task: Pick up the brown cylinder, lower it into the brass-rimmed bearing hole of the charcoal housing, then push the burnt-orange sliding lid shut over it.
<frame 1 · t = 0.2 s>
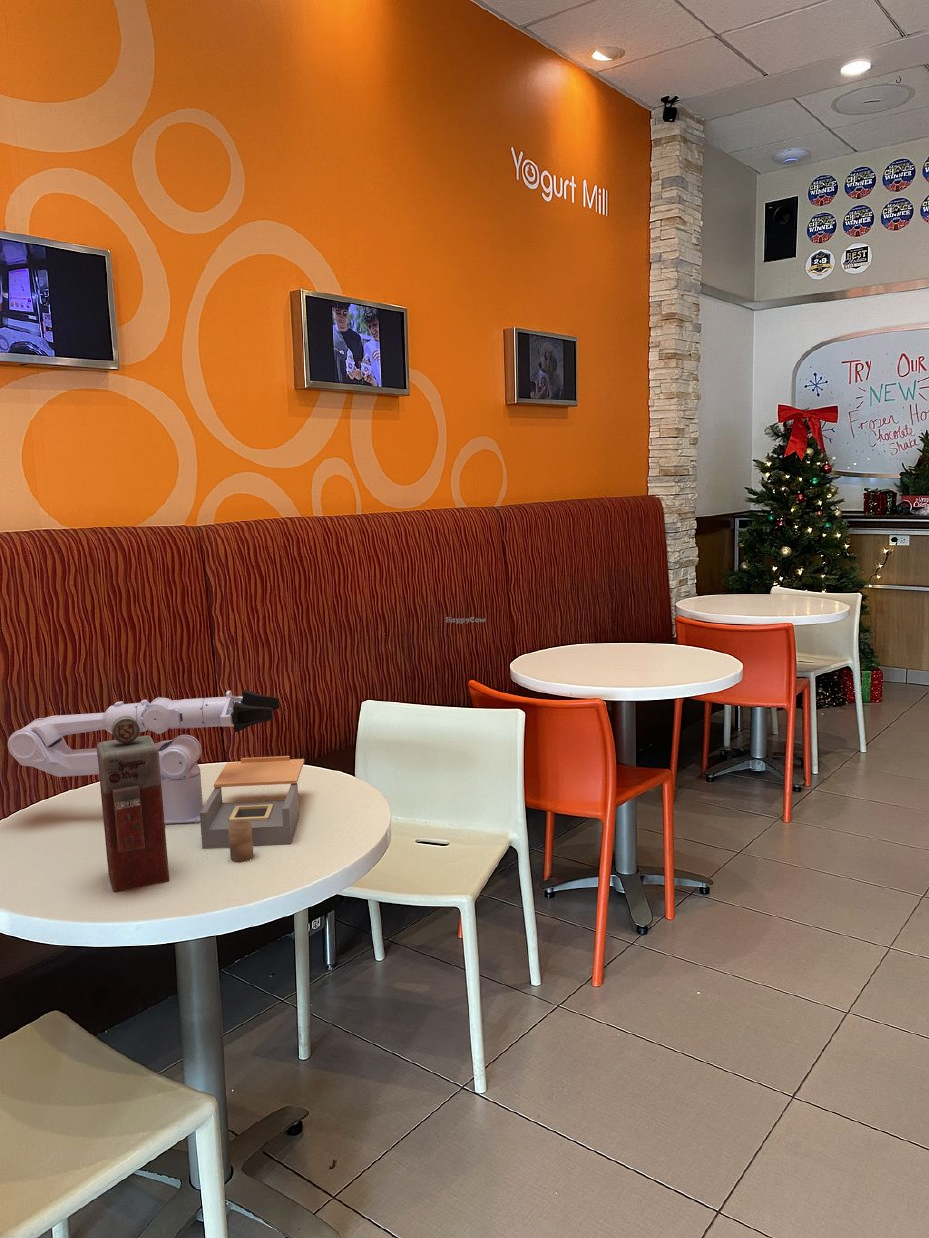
hand: (275, 708, 184), 22 cm above the table, tool horizontal, fingers open, 7 cm apart
vintage gas pump: (139, 880, 158), on the table
housing: (252, 831, 178), on the table
lid: (260, 770, 190), point 8 cm above the table, slide at 13.0 cm
brown cylinder: (242, 857, 166), on the table
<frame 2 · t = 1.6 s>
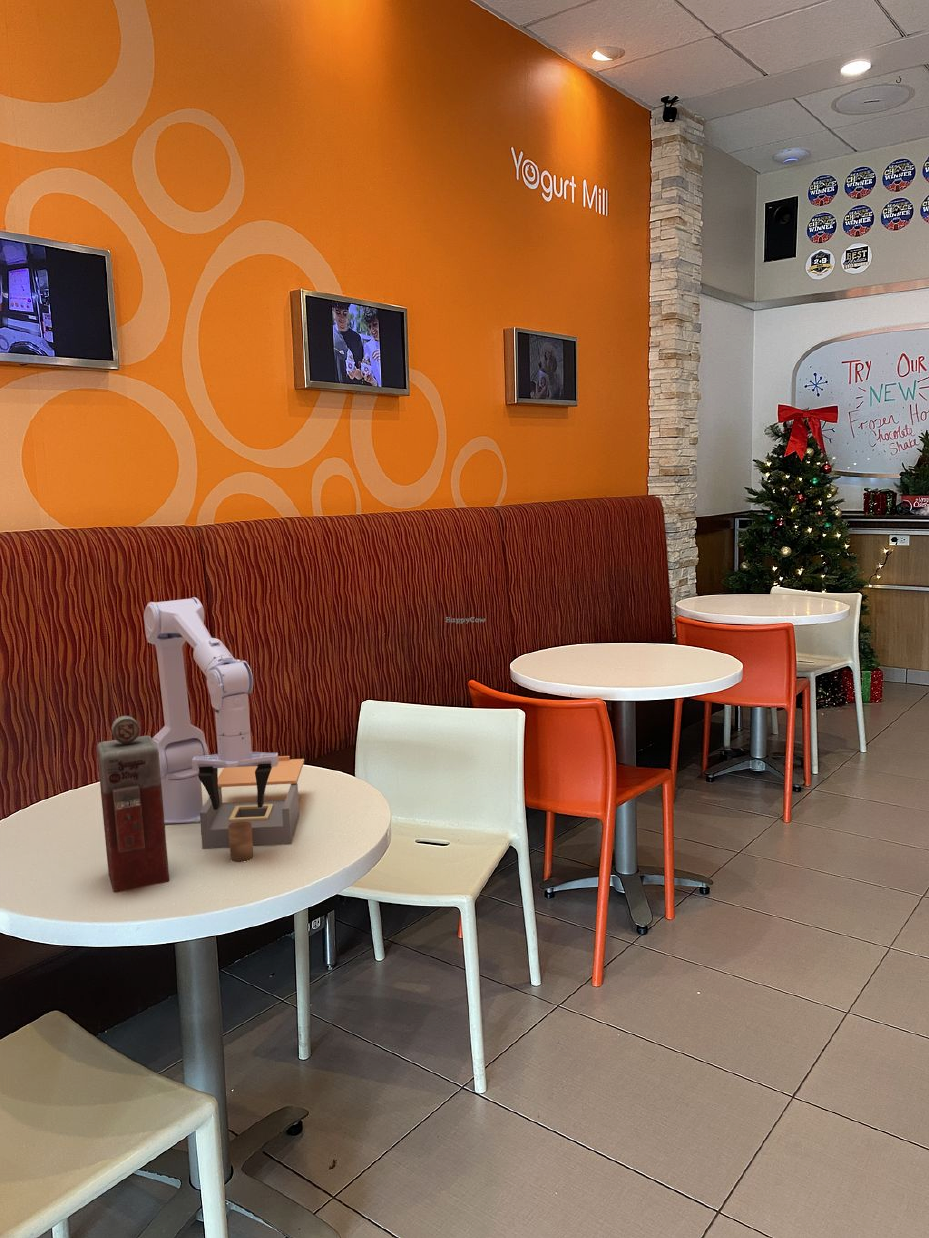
hand: (238, 806, 165), 9 cm above the table, tool pointing down, fingers open, 7 cm apart
nothing on the table moved.
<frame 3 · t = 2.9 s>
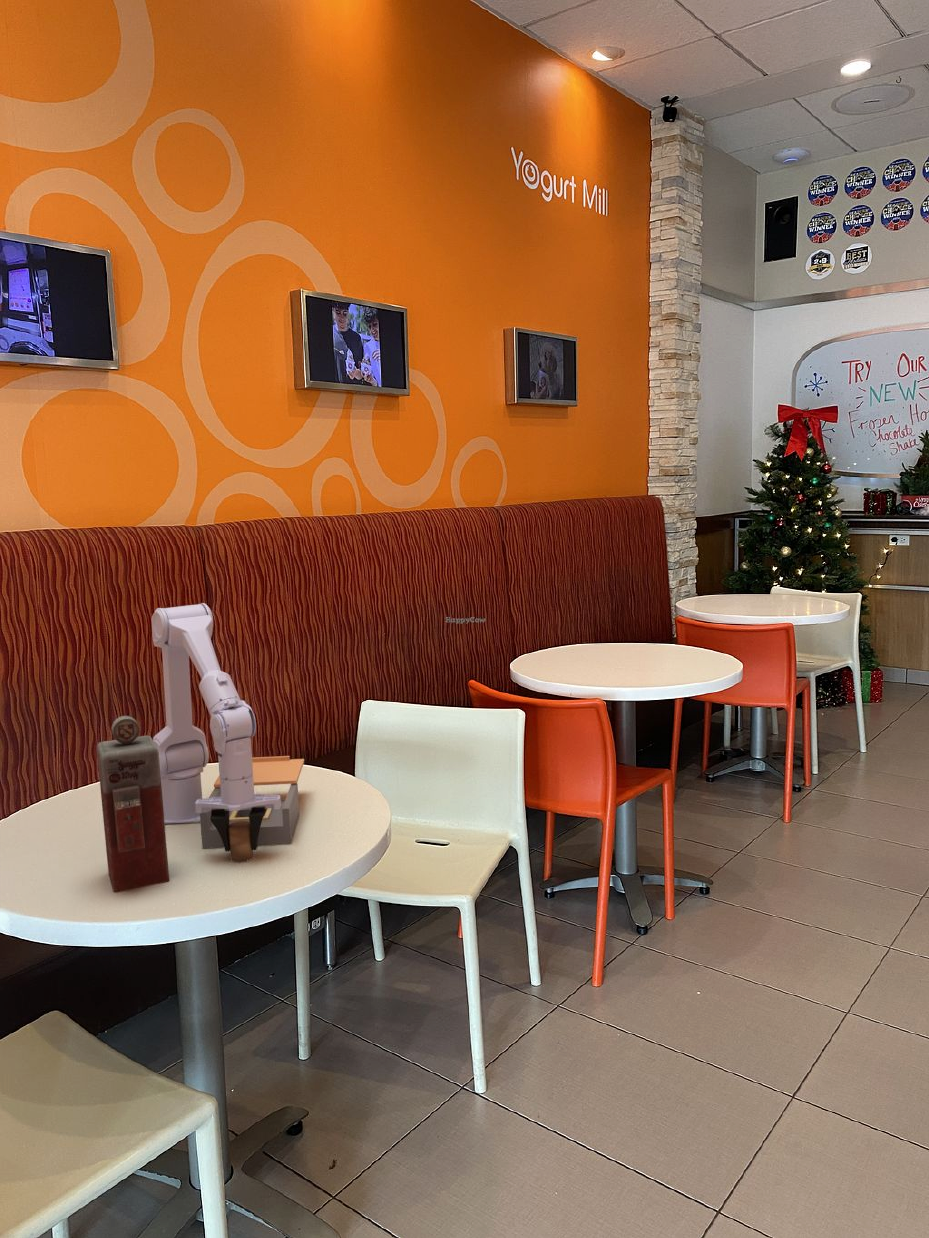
hand: (241, 848, 166), 2 cm above the table, tool pointing down, fingers closed on brown cylinder, 4 cm apart
brown cylinder: (242, 857, 166), on the table, touching gripper
everything else where it was.
when the fingers open (5 cm above the table, at t = 6.6 s): brown cylinder drops 3 cm, resting in housing.
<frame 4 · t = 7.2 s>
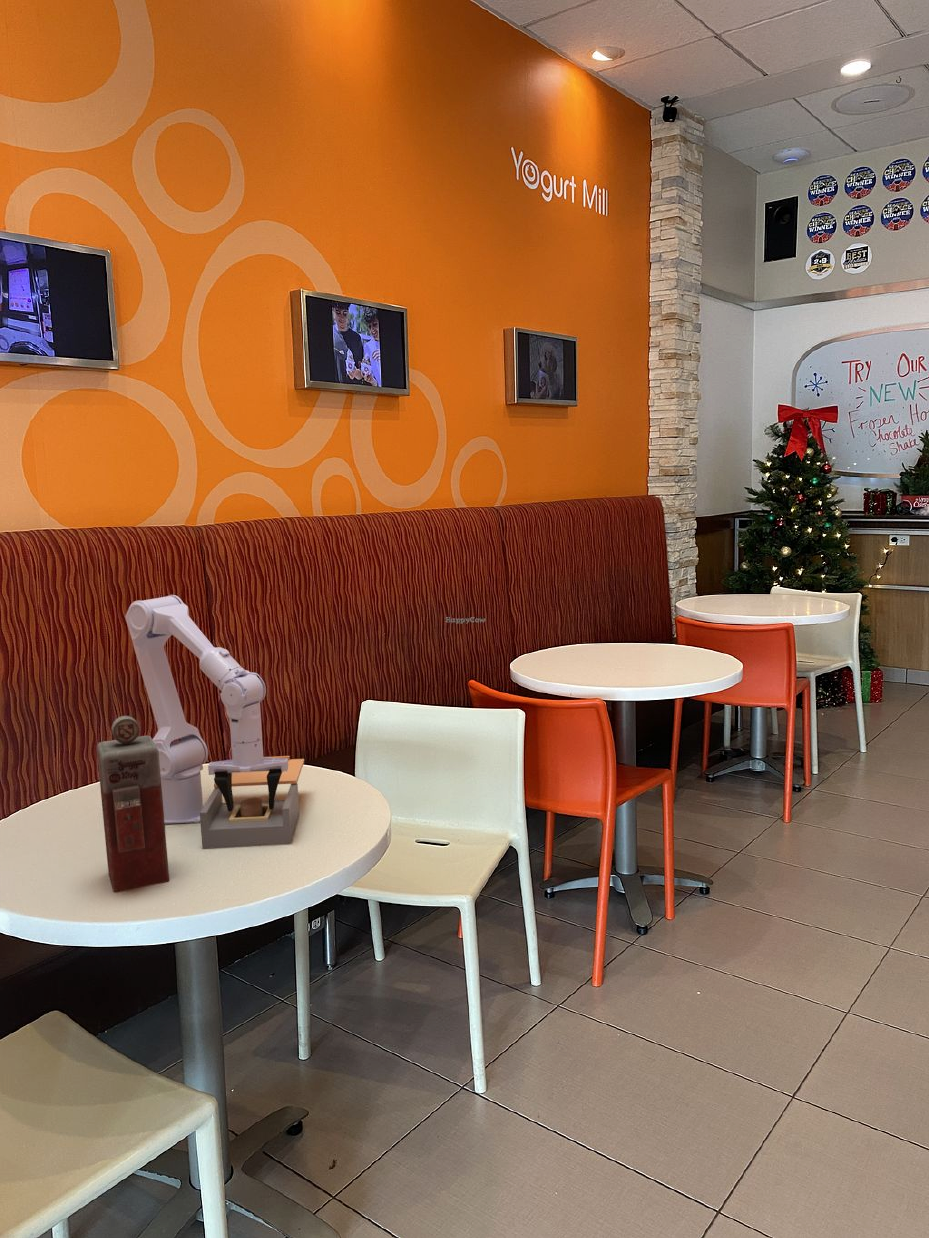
hand: (251, 808, 177), 5 cm above the table, tool pointing down, fingers open, 7 cm apart
brown cylinder: (253, 831, 178), resting in housing
everything else where it was.
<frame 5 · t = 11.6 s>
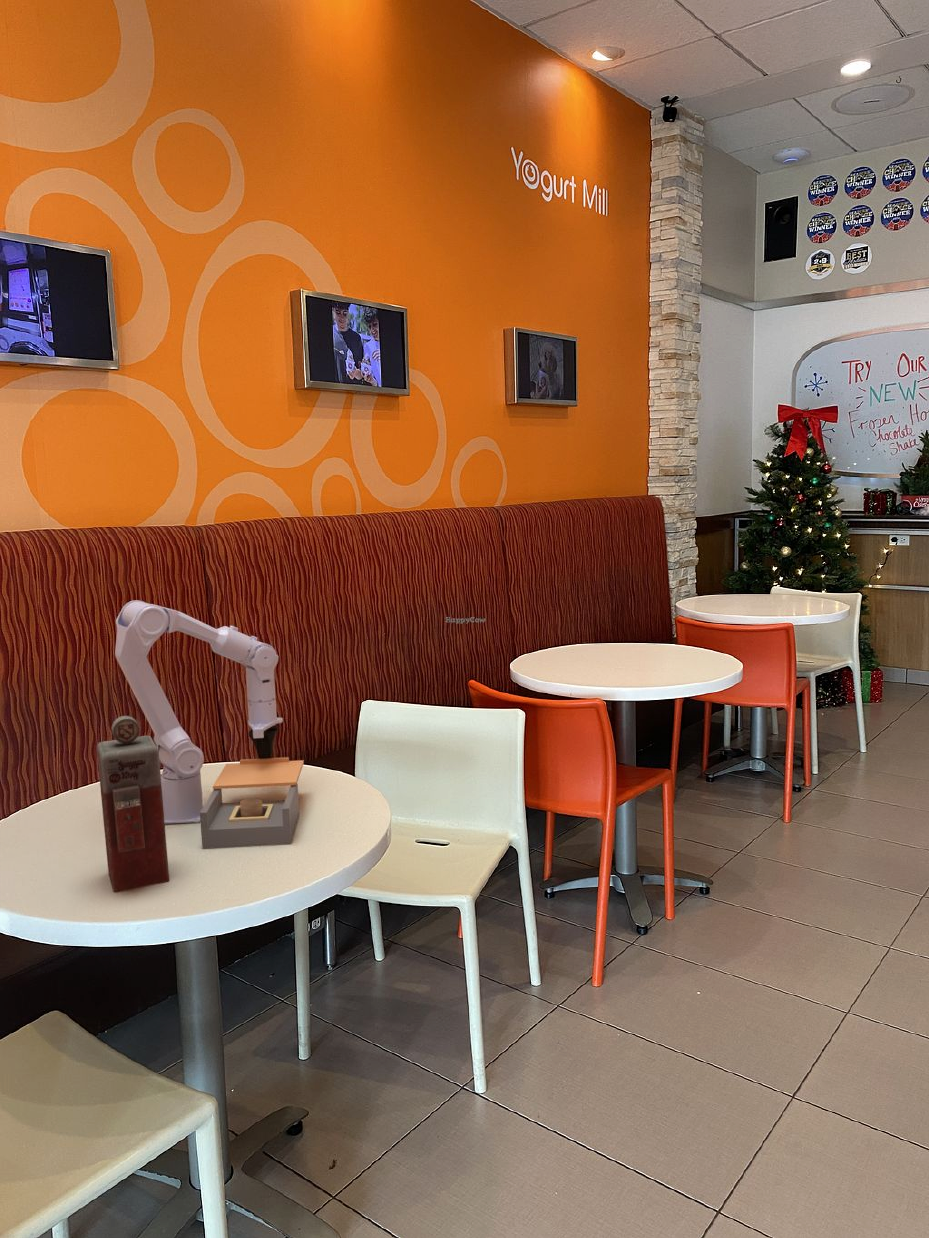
hand: (265, 762, 197), 7 cm above the table, tool pointing down, fingers closed
lid: (259, 772, 189), point 8 cm above the table, slide at 12.0 cm, touching gripper
everything else where it was.
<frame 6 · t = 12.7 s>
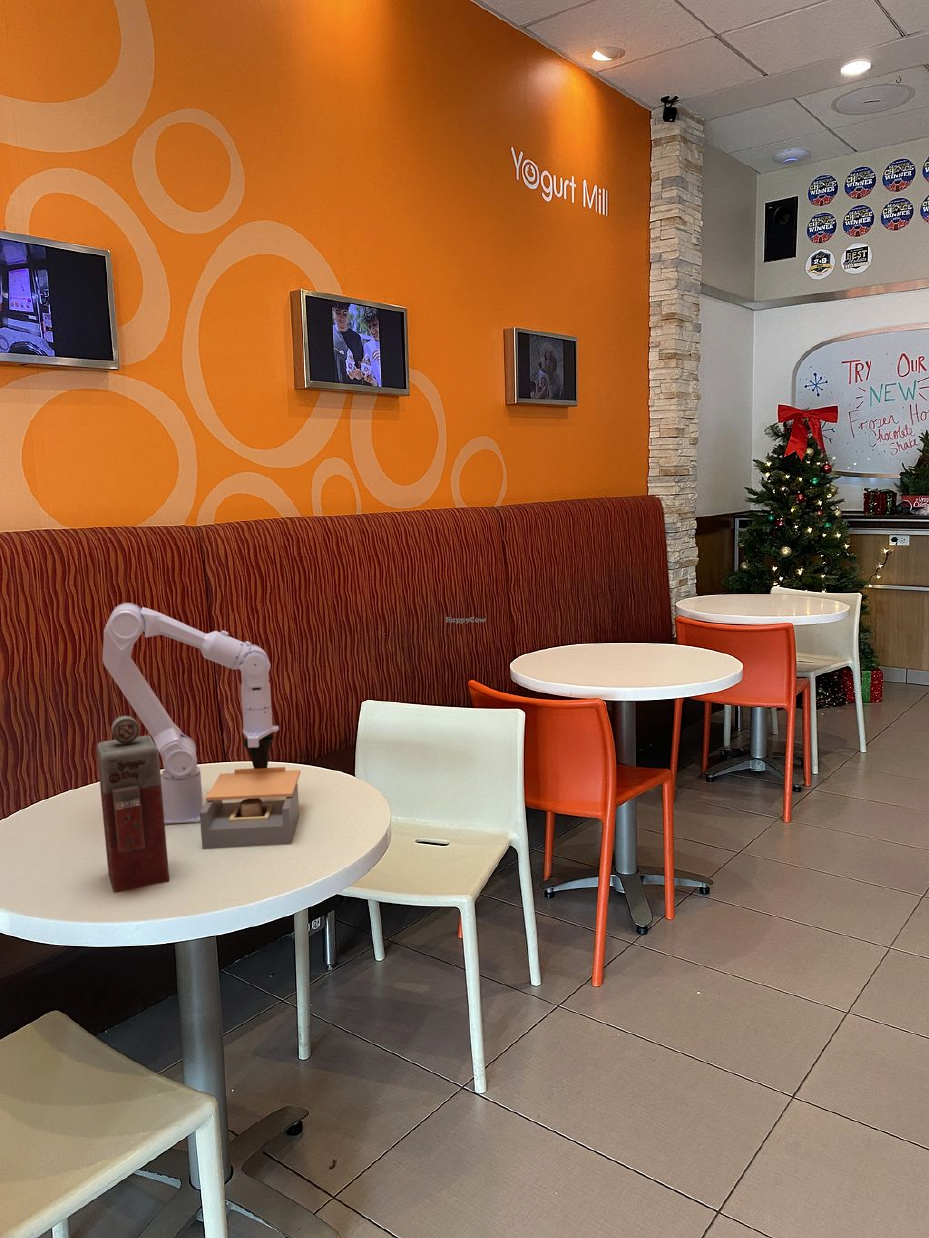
hand: (261, 771, 190), 7 cm above the table, tool pointing down, fingers closed
lid: (254, 782, 182), point 8 cm above the table, slide at 5.5 cm, touching gripper
everything else where it was.
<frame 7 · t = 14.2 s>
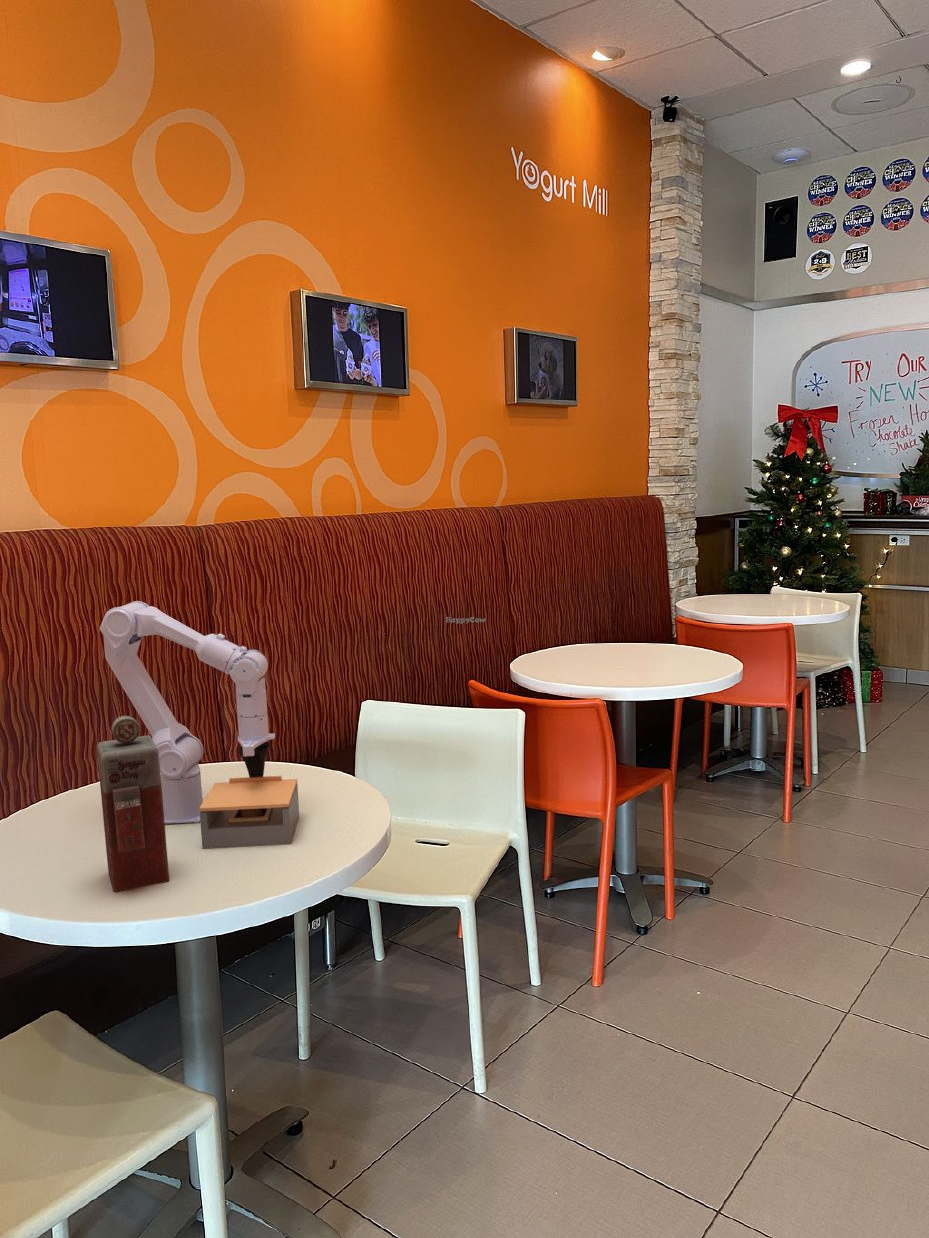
hand: (256, 780, 185), 7 cm above the table, tool pointing down, fingers closed
lid: (250, 792, 177), point 8 cm above the table, slide at 0.0 cm, touching gripper
everything else where it was.
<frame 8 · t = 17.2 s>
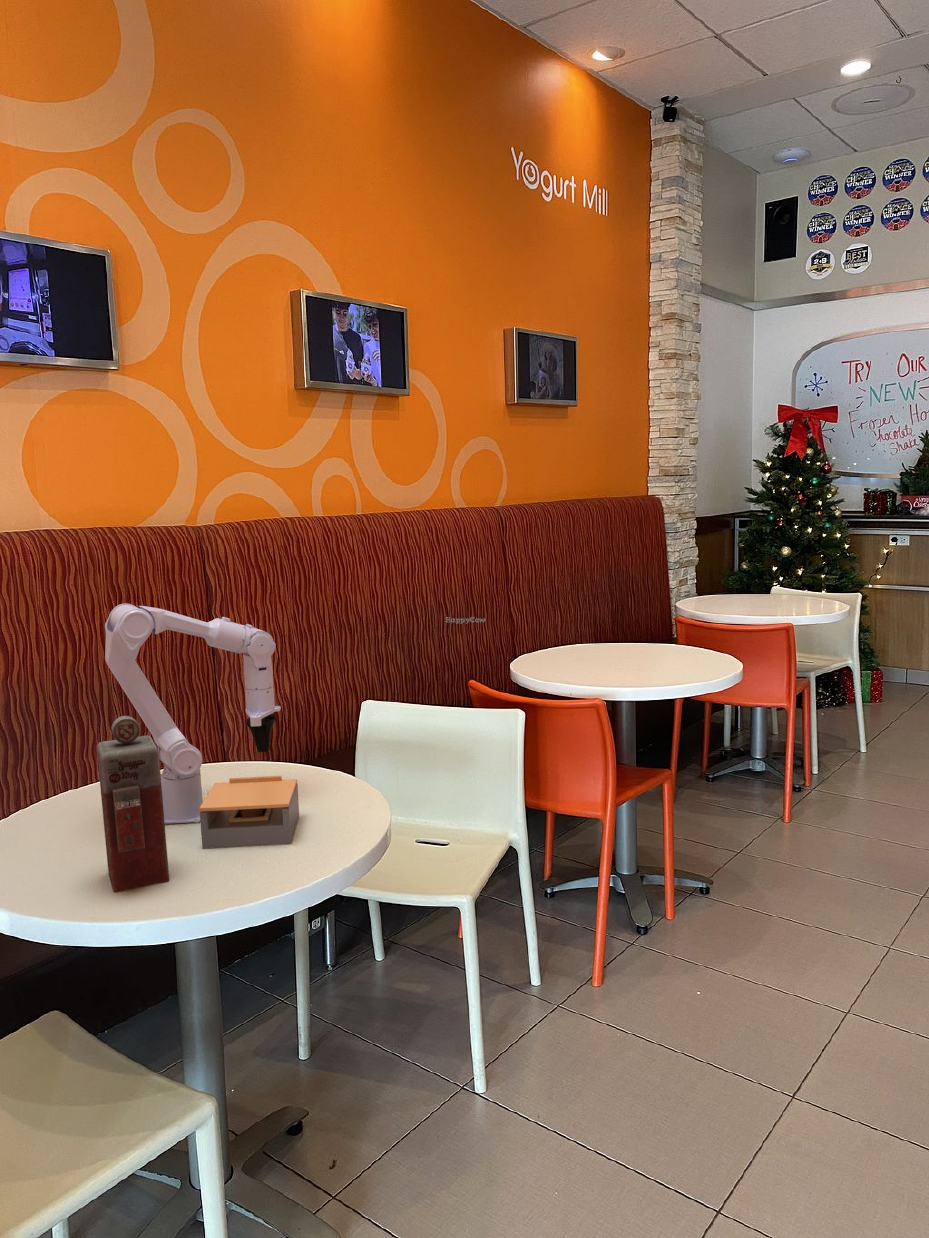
hand: (263, 751, 194), 10 cm above the table, tool pointing down, fingers closed
lid: (250, 792, 177), point 8 cm above the table, slide at 0.0 cm
everything else where it was.
at the end: brown cylinder 0.0 cm off-centre on the housing, point 0.0 cm above the housing's base; brown cylinder tilted 0°; lid slide at 0.0 cm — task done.
